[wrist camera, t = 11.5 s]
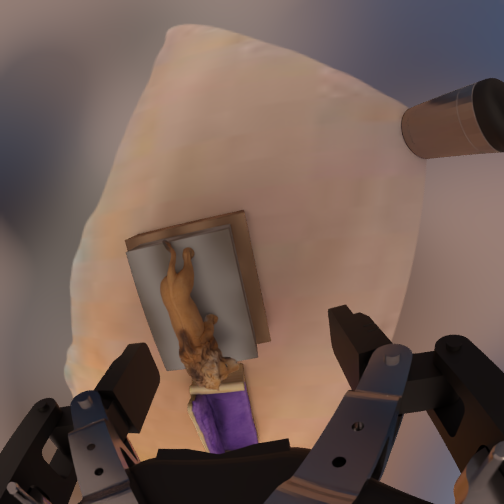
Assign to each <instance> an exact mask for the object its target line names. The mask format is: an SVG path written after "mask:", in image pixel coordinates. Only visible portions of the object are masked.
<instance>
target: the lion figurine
mask: <svg viewBox="0 0 504 504" xmlns="http://www.w3.org/2000/svg"><path fill="white" fill-rule="evenodd" d="M162 243H163V245H164V246H165V248H166V250H168V251H169V252H170V253H171V259H170V263H169V268H168V272H167V276H165V277H164V279H163V280H162V281H161V284H160V293H161V297H162V300H163V303H164V305H165V307H166V309H167V311H168V313H169V317H170V320H171V324H172V327H173V329H174V332H175V334H176V336H177V339H178V341H179V358H181V362H182V363H183V364H184V367H185V369H186V370H187V372H188V374H189V376H192V379H193V380H194V381H196V383H197V385H199V386H201V387H204V388H206V389H209V390H211V389H213V390H217V391H220V390H219V387H220V385H221V383H222V382H221V381H222V380H224V379H226V378H227V377H228V374H229V373H232V372H234V371H237V370H238V369H239V364H238V363H237V361H236V360H235V359H233V358H232V357H223V355H222V352H221V350H220V349H219V348H218V344H217V341H216V339H215V338H214V336H213V333H214V325H215V324H216V323H217V321H218V317H217V316H216V315H213V314H209V315H206V317H205V321H204V322H203V320H202V317H201V315H200V313H199V310H198V308H197V306H196V304H195V303H194V301H193V300H192V298H191V297H190V293H191V291H192V289H193V285H194V270H193V266H192V262H191V259H192V258H193V257H194V254H195V253H194V250H193V249H192V248H190V247H188V248H184V249H183V253H182V257H183V260H184V266H183V269H182V270H181V271H180V272H179V273H177V274H176V271H175V264H176V252H175V250H174V249H173V248H172V247H171V244H170V243H169V242H168V241H167V240H163V241H162ZM213 324H214V325H213Z"/></svg>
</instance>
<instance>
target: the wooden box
mask: <svg viewBox="0 0 504 504" xmlns="http://www.w3.org/2000/svg"><path fill="white" fill-rule="evenodd" d="M163 240H167V241H168V242H169V243H170V244H171V247H172V248H173V249H174V250H175V252H176V264H175V271H176V274H177V273H179V272H180V271H181V270H182V269H183V266H184V260H183V257H182V253H183V249H184V248H188V247H190V248H192V249H193V250H194V253H195V254H194V257H193V258H192V259H191V262H192V266H193V270H194V285H193V289H192V291H191V293H190V297H191V298H192V300H193V301H194V303H195V304H196V306H197V308H198V310H199V313H200V315H201V317H202V320H203V322H204V321H205V317H206V315H209V314H213V315H216V316H217V317H218V321H217V323H216V324H215V325H214V324H213V325H214V333H213V336H214V338H215V339H216V341H217V344H218V348H219V349H220V350H221V352H222V355H223V357H232V358H233V359H235V360H236V361H242V360H247V359H252V358H258V352H257V344H260V343H265V342H270V341H271V338H270V333H269V328H268V323H267V318H266V314H265V309H264V304H263V299H262V294H261V290H260V285H259V280H258V275H257V270H256V265H255V261H254V256H253V251H252V246H251V241H250V237H249V232H248V227H247V222H246V217H245V213H244V210H241V211H237V212H232V213H227V214H223V215H218V216H213V217H209V218H205V219H200V220H196V221H191V222H187V223H183V224H178V225H174V226H170V227H166V228H162V229H158V230H154V231H150V232H146V233H142V234H138V235H135V236H133V237H131V238H129V239H127V240H125V243H126V246H127V250H128V251H127V252H126V255H127V258H128V262H129V266H130V269H131V272H132V276H133V279H134V282H135V286H136V289H137V292H138V295H139V298H140V301H141V304H142V307H143V310H144V313H145V316H146V319H147V322H148V324H149V327H150V330H151V333H152V335H153V338H154V341H155V343H156V346H157V348H158V351H159V353H160V356H161V358H162V361H163V363H164V366H165V368H166V370H167V371H172V370H181V369H185V367H184V364H183V363H182V362H181V358H179V341H178V339H177V336H176V334H175V332H174V329H173V327H172V324H171V320H170V317H169V313H168V311H167V309H166V307H165V305H164V303H163V300H162V297H161V293H160V284H161V281H162V280H163V279H164V277H165V276H167V272H168V268H169V263H170V259H171V253H170V252H169V251H168V250H166V248H165V246H164V245H163V243H162V241H163Z"/></svg>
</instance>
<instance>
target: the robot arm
mask: <svg viewBox="0 0 504 504" xmlns="http://www.w3.org/2000/svg"><path fill="white" fill-rule="evenodd" d="M402 133H403V136H404V139H405V141H406V143H407V145H408V147H409V148H410V149H411V150H412V152H413V153H415V154H416V155H417V156H419V157H421V158H425V159H430V158H438V157H439V158H440V157H450V156H460V155H472V154H485V153H499V152H504V82H502V81H500V80H498V79H495V78H489V79H485V80H482V81H479V82H477V83H474V84H471V85H468V86H466V87H463V88H460V89H458V90H455V91H452V92H450V93H447V94H444V95H442V96H439V97H437V98H434V99H432V100H429V101H426V102H424V103H421V104H419V105H417V106H414V107H412V108H410V109H408V110H407V111H406V112H405V114H404V116H403V119H402ZM328 317H329V325H330V335H331V343H332V348H333V351H334V354H335V356H336V358H337V360H338V362H339V364H340V366H341V368H342V370H343V372H344V374H345V376H346V379H347V381H348V383H349V385H350V387H351V389H352V390H348V391H347V392H346V394H345V395H344V397H343V399H342V401H341V402H340V404H339V406H338V408H337V409H336V411H335V413H334V415H333V416H332V418H331V420H330V421H329V423H328V425H327V426H326V428H325V429H324V431H323V433H322V434H321V436H320V437H319V439H318V440H317V442H316V443H315V445H314V446H313V448H312V449H307V448H299V447H290V443H289V439H282V440H276V441H270V442H264V443H257V444H252V445H249V446H246V447H243V448H239V449H236V450H232V451H229V452H225V453H221V454H215V453H208V452H202V451H196V450H190V449H158V453H157V456H156V458H152V459H148V460H145V461H142V462H141V461H140V459H139V457H138V455H137V454H136V452H135V450H134V448H133V446H132V444H131V442H130V440H129V439H128V437H127V434H128V433H140V431H141V428H142V426H143V423H144V421H145V418H146V415H147V413H148V410H149V408H150V405H151V403H152V400H153V398H154V395H155V393H156V390H157V388H158V386H159V383H160V375H159V371H158V369H157V366H156V364H155V362H154V360H153V357H152V355H151V353H150V350H149V348H148V346H147V344H146V343H135V344H129V345H128V346H127V347H126V349H125V350H124V352H123V353H122V355H121V356H119V357H118V358H117V359H116V360H115V361H113V363H112V364H111V366H110V367H109V369H108V370H107V371H106V373H105V375H104V376H103V377H102V379H101V380H100V382H99V383H98V385H97V386H96V388H95V389H94V391H93V390H89V391H84V392H82V393H80V394H78V395H77V396H75V397H74V398H73V400H72V401H71V404H70V406H66V407H59V406H58V404H57V403H56V401H55V400H54V399H52V398H46V399H42V400H40V401H38V402H37V403H36V404H35V405H34V406H33V407H32V409H31V410H30V411H29V413H28V414H27V415H26V417H25V418H24V419H23V421H22V422H21V424H20V425H19V426H18V428H17V429H16V431H15V432H14V434H13V435H12V436H11V438H10V439H9V441H8V442H7V444H6V446H5V447H4V448H3V450H2V452H1V453H0V504H68V502H69V500H70V497H71V495H72V492H73V490H74V487H75V485H76V482H77V480H78V483H79V486H80V490H81V493H82V497H83V499H82V500H81V502H80V503H78V504H433V503H431V502H428V501H425V500H422V499H420V498H417V497H415V496H412V495H409V494H407V493H405V492H402V491H400V490H398V489H395V488H393V487H391V486H388V485H386V484H384V483H382V482H380V480H381V477H382V475H383V473H384V470H385V468H386V465H387V462H388V459H389V456H390V453H391V450H392V448H393V445H394V442H395V439H396V437H397V434H398V431H399V428H400V425H401V422H402V419H403V416H404V414H405V413H412V412H418V411H425V410H426V411H427V413H428V415H429V416H430V418H431V420H432V421H433V423H434V425H435V426H436V428H437V430H438V432H439V434H440V435H441V437H442V439H443V440H444V442H445V444H446V446H447V448H448V450H449V451H450V453H451V455H452V457H453V459H454V460H455V462H456V464H457V466H458V468H459V470H460V472H461V475H460V476H459V478H458V479H457V481H456V483H455V485H454V496H455V504H504V373H503V372H502V371H501V370H500V369H499V368H498V367H497V366H496V365H495V364H494V363H493V362H492V361H491V360H490V359H489V358H488V357H487V356H486V355H485V354H484V353H483V352H482V351H481V350H480V349H478V348H477V347H476V346H475V345H474V344H473V343H472V342H471V341H470V340H469V339H467V338H466V337H464V336H460V335H448V336H444V337H442V338H440V339H439V340H438V341H437V342H436V344H435V349H434V351H430V352H424V353H417V354H412V351H411V350H410V349H409V348H408V347H406V346H404V345H401V344H393V343H392V342H391V341H390V340H389V339H388V338H387V336H386V335H385V334H384V333H383V332H382V331H381V329H379V327H378V326H377V325H376V324H375V323H374V322H373V320H372V319H371V318H370V317H369V316H367V315H365V314H362V313H356V314H353V313H352V312H351V310H350V309H349V308H348V307H347V305H342V306H338V307H334V308H330V309H328ZM48 438H50V439H51V441H52V442H53V443H54V444H55V445H56V447H57V448H58V449H57V450H56V453H55V455H54V456H53V458H52V460H51V462H50V464H48V463H47V462H46V461H45V460H44V458H43V456H42V449H43V447H44V445H45V443H46V441H47V440H48Z"/></svg>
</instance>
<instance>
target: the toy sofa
mask: <svg viewBox="0 0 504 504" xmlns="http://www.w3.org/2000/svg"><path fill="white" fill-rule="evenodd" d="M221 382H222V383H221V385H220V387H219V390H220V391H217V390H213V389H211V390H209V389H206V388H204V387H201V386H199V385H197V383H196V381H194V380H192V385H191V386H190V388H189V391H190V394H191V399H190V401H189V403H188V407H187V408H188V414H189V416H190V418H191V419H192V421H193V423H194V425H195V428H196V430H197V432H198V435H199V437H200V439H201V441H202V444H203V446H204V448H205V450H206V452H208V453H215V454H221V453H225V452H229V451H232V450H236V449H239V448H243V447H246V446H249V445H252V444H257V443H258V434H257V433H256V428H255V425H254V420H253V416H252V411H251V406H250V402H249V397H248V392H247V387H246V382H245V377H244V369H243V364H239V369H238V370H237V371H234V372H232V373H229V374H228V377H227V378H226V379H224V380H222V381H221Z"/></svg>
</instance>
